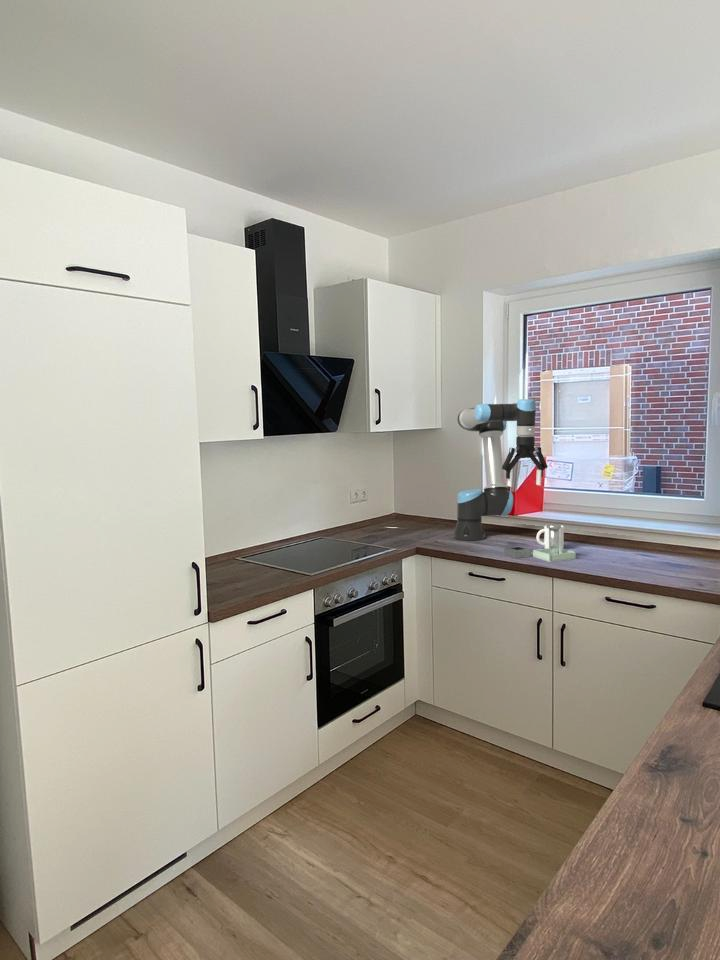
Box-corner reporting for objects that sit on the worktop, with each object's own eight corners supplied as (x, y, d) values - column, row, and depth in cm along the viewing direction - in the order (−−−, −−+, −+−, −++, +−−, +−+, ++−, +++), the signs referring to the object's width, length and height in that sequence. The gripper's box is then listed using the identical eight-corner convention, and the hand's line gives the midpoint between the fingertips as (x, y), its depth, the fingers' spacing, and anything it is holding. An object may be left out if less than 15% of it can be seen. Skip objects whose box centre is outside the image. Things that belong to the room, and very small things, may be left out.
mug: (539, 551, 270) (539, 528, 269) (533, 547, 278) (533, 524, 277) (566, 550, 270) (566, 527, 269) (559, 546, 279) (559, 524, 278)
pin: (547, 554, 261) (547, 523, 260) (561, 555, 259) (561, 524, 257) (546, 557, 256) (546, 525, 254) (560, 558, 254) (560, 526, 252)
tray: (532, 556, 260) (533, 550, 260) (557, 553, 265) (557, 547, 265) (550, 562, 250) (550, 555, 250) (575, 558, 255) (575, 552, 254)
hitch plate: (504, 554, 265) (504, 547, 264) (519, 552, 268) (519, 545, 267) (515, 558, 257) (515, 551, 257) (531, 556, 260) (531, 549, 260)
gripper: (502, 437, 255) (501, 488, 257) (556, 435, 261) (555, 485, 264) (494, 436, 262) (493, 485, 265) (547, 434, 268) (545, 483, 271)
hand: (524, 485), depth 264 cm, fingers open, 13 cm apart
